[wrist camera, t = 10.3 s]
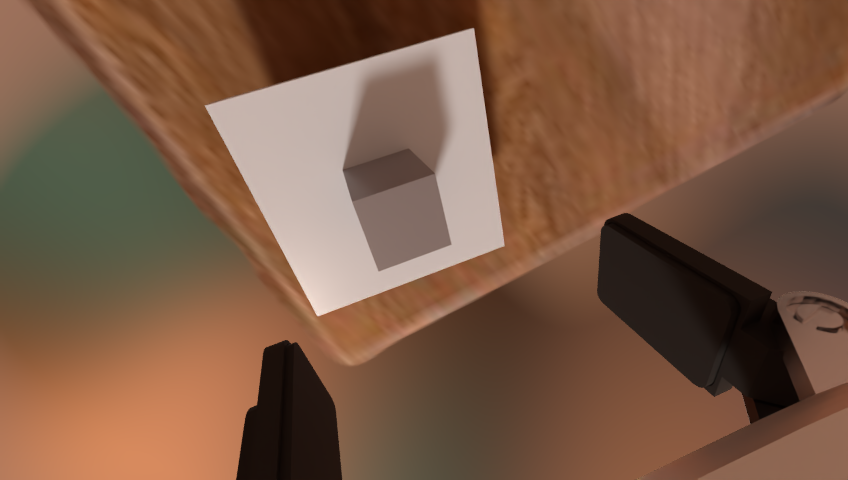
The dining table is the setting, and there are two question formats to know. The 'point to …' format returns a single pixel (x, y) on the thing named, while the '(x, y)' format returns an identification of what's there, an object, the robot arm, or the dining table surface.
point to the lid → (371, 167)
